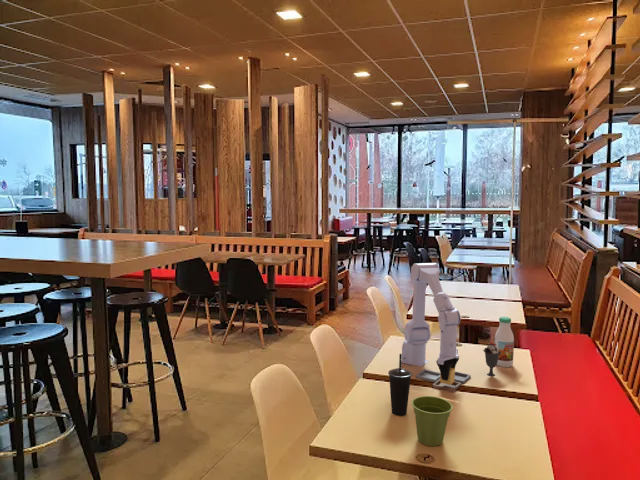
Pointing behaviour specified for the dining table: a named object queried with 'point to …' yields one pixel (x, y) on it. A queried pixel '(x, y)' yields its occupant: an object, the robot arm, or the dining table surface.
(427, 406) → the plant pot
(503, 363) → the milk bottle
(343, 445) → the dining table surface
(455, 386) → the front dish
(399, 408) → the drinking cup
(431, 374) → the left dish
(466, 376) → the back dish
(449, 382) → the letter cube
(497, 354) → the sundae
